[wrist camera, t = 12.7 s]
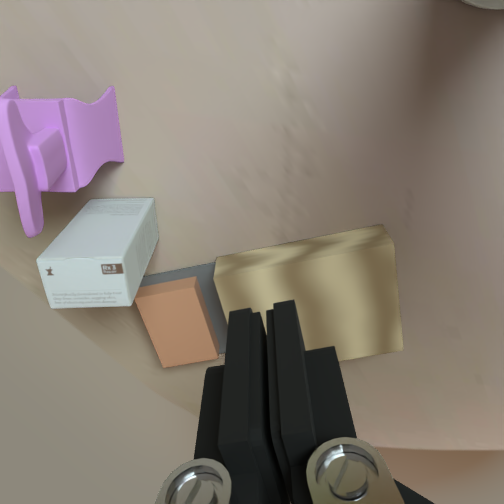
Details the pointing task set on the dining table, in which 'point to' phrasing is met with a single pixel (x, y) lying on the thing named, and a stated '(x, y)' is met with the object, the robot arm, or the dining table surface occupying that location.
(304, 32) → the dining table surface
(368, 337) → the board
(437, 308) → the dining table surface
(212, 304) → the mat
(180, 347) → the tile
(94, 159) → the purple flanged fixture
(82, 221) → the skincare box
